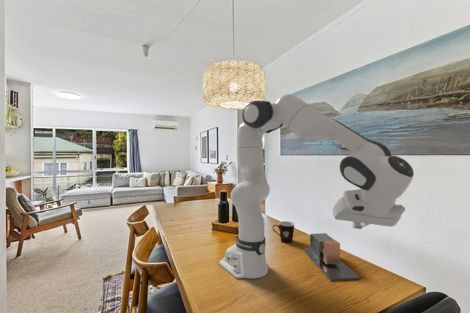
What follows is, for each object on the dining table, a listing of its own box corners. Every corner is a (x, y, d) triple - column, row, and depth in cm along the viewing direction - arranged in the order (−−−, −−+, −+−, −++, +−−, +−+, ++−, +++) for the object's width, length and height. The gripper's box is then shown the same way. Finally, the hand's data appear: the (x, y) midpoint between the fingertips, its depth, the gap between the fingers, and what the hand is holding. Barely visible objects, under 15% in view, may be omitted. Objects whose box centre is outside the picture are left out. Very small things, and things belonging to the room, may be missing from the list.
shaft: (339, 263, 100) (340, 243, 100) (326, 264, 99) (326, 243, 99) (321, 247, 117) (321, 229, 117) (310, 247, 116) (310, 230, 116)
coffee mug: (297, 240, 130) (297, 223, 130) (289, 245, 124) (289, 227, 124) (279, 235, 138) (279, 219, 138) (271, 239, 132) (271, 222, 132)
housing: (359, 279, 91) (359, 254, 91) (330, 280, 90) (330, 255, 90) (325, 249, 119) (325, 230, 119) (303, 250, 118) (303, 231, 118)
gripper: (403, 198, 74) (382, 223, 83) (339, 190, 75) (325, 215, 83) (412, 214, 69) (389, 239, 78) (344, 205, 70) (329, 230, 78)
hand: (356, 226), depth 81 cm, fingers closed
